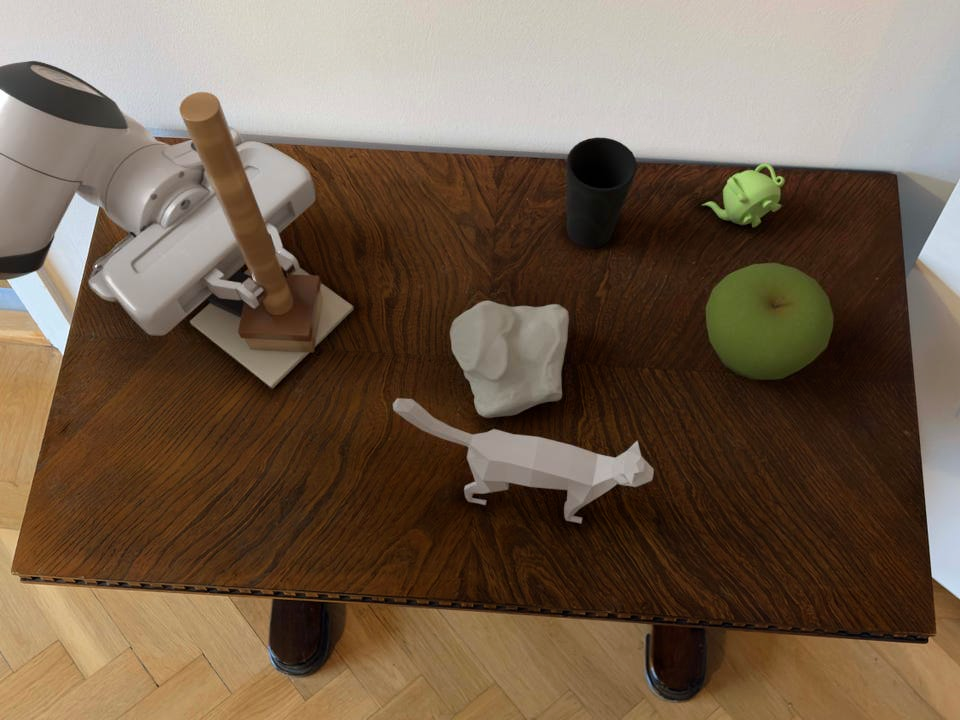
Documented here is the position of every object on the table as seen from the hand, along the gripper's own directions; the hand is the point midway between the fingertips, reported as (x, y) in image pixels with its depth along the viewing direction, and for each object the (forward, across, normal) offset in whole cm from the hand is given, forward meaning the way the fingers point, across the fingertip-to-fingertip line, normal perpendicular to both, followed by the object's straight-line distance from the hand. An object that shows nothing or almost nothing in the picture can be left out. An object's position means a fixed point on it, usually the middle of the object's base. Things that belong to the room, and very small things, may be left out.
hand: (276, 284), depth 73 cm
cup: (+15, +27, +9) cm, 32 cm away
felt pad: (-7, -1, +8) cm, 11 cm away
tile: (-3, 0, +8) cm, 9 cm away
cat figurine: (+26, +1, +9) cm, 27 cm away
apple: (+35, +25, +9) cm, 44 cm away
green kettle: (+26, +39, +9) cm, 47 cm away
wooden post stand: (-1, 0, +8) cm, 8 cm away
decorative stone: (+19, +10, +9) cm, 23 cm away
